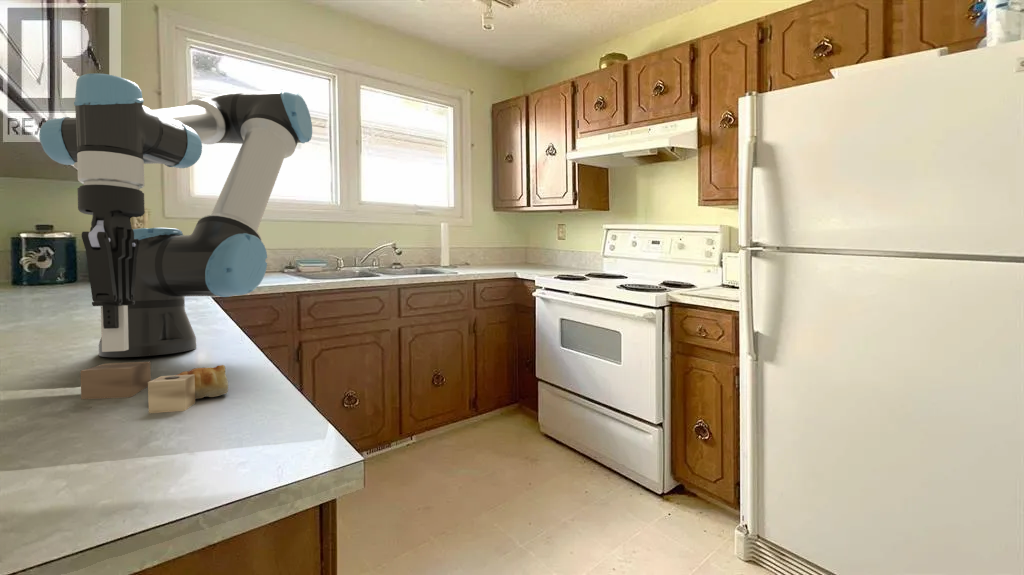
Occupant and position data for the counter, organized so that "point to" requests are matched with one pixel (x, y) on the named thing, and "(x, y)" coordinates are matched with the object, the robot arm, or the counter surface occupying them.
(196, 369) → the pastry
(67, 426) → the counter surface
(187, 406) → the beech block
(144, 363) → the walnut block
